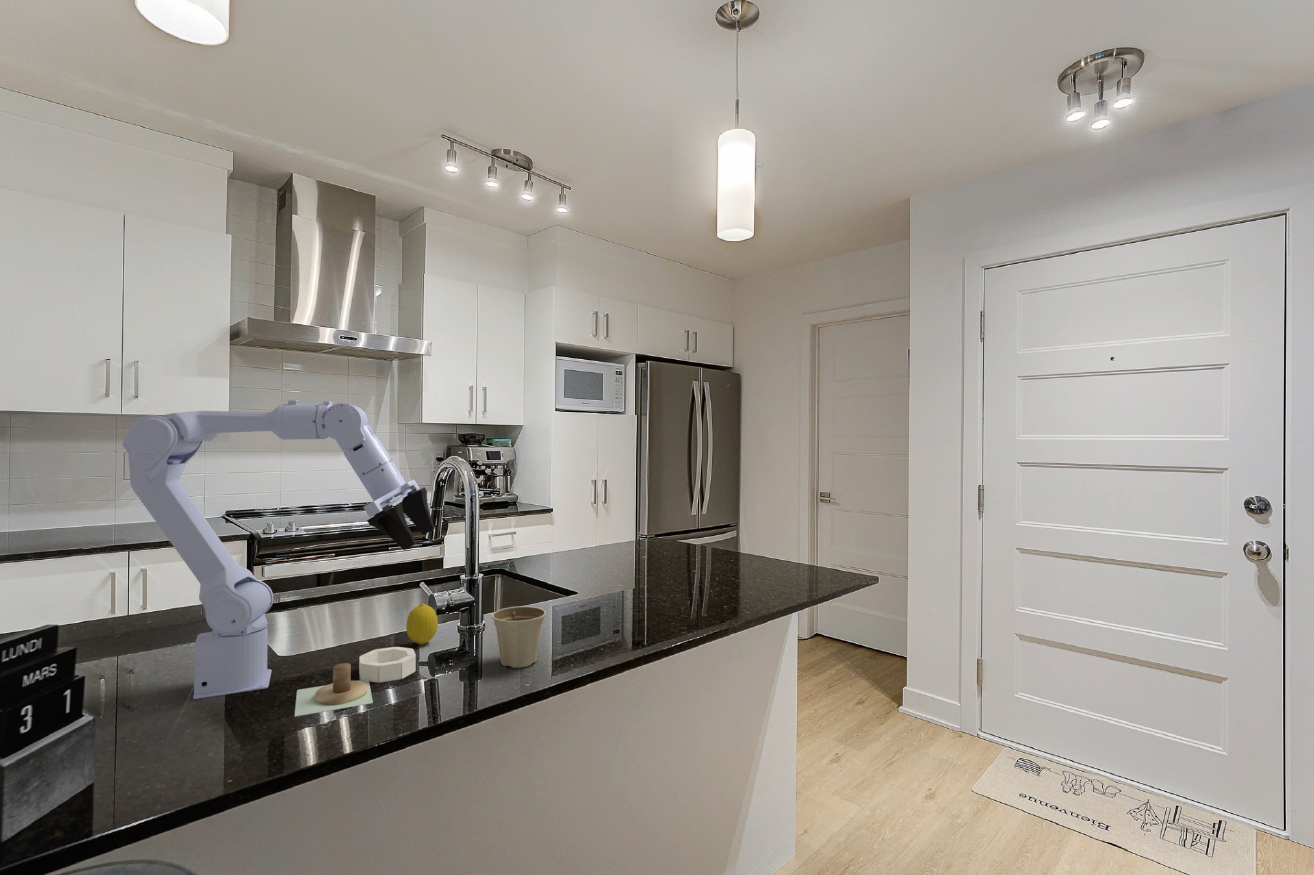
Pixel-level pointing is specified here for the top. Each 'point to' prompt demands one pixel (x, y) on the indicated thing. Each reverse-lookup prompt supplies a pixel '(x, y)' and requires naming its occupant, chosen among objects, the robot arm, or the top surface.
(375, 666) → the bowl
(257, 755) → the top surface
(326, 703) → the lid
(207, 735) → the top surface
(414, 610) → the lemon
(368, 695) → the mat
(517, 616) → the flower pot
